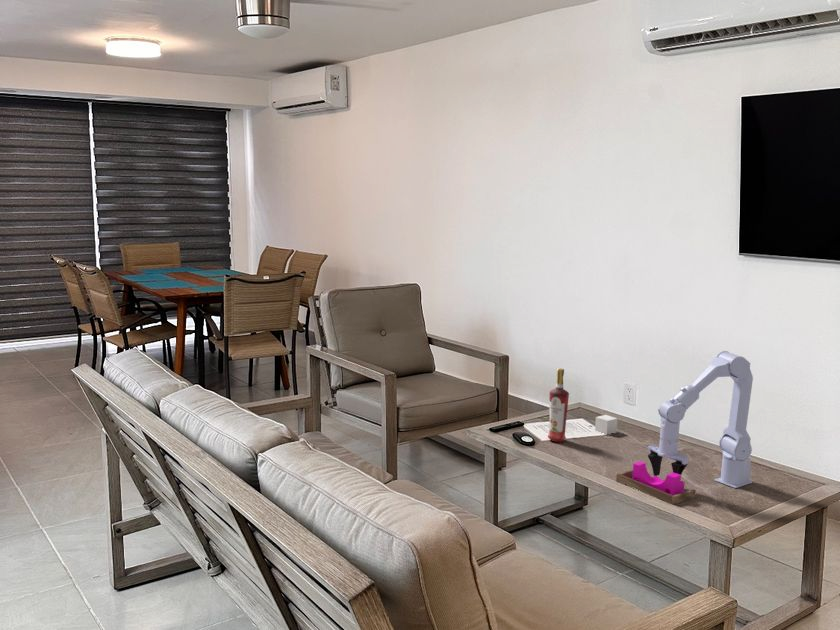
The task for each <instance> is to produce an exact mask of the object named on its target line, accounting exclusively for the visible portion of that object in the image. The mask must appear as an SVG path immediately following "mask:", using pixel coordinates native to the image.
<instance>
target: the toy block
mask: <svg viewBox="0 0 840 630" xmlns="http://www.w3.org/2000/svg"><path fill="white" fill-rule="evenodd" d="M632 466H633V467H632V470H633V477H632V478H631V479H633V480H636V481H638V482H641V483H643V484H645V485H648V486H650V487H653V488H655V489H658V490H660V491H663V492H665V493H668V494H670V495H673V496H674V495H677V494H680V493H683V492H685V484H686V483H685V481H683V480H682V474H681V475H680V474H677V473H674V472H673V471H672V472H671V473H668V474H666V477H665V479H661V478H660V477H658V475H657V476H654V475H653V476H651V475H650V473H649V471H648V470H647V469H648V468H647V466H646V462H643V461H638V462H635V463H633V465H632Z"/></svg>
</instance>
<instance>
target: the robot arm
mask: <svg viewBox="0 0 840 630" xmlns="http://www.w3.org/2000/svg"><path fill="white" fill-rule="evenodd" d="M724 377H725V378H727V377H730V379H732V381H733V385H732V388H733V389H732V395H731V396H732V397H731V401H730V402H731V403H730V409H729V410H730V411H729V419H728V425H727V427H726V428H724V429H723V432H722V435H721V437H720V439H719V442H718V443H719V445H718V446H719V448H720V450H721V453H722V460H721V472H720V477H718V478H715V479H714V481H715V482H718V483H721V484H724V485H726V486H728V487H731V488H734V489H737V488H741V487H743V486H747V485H749V484H752V483H753V481H752V480H751V474H752V473H751V471H752V462H751V459H750V458H749V457H750V456H751V454H752V451H753V449H752V444H751V436H750V435H749V433H748V431H747V426H748V419H749V413H750V412H749V410H750V403H751V394H752V388H753V381H754V380H753V379H754V375H753V373H752V370H751V361H749V360H747V359H746V358H745V357H743V356H739V355H737V354H734V353H731V352H729V351H727V350H722V351H719V353H717V354H716V356H714V357H713V358H712V359H711V361H710V364H709V365H708V366H707V367H706V369H705V370H704V371H703V372H702V373H701V374H700V375H699V376H698V377H697V378H696V379H695V380H694V382H692V384H689V385H688V384H687V385H684V386H681V387H680V388H679V391H678V392H677V393H676V394H675V395H674V396H673V397H670V399H669V400H667V401H664V402H662V404H661V405H660V407H659V408H658V409H657V411H658V415H659V416H660V432H659V446H656V445H653V444H651V445H648V446H647V452H648V453H649V454H647V458H648V459H649V461H650V464H651V467H652V472H653V473H652V474H653V476H657V477H658V476H660V474H661V465H662V461H663V458H667V459H670V460H673V461H674V462H671V469H672V473H673V472H674V473H677V474H680V475H681V476H682V474H683V472H684V470H685V469H686V468H687V466H688V464H689V463H690V462H689V461H690V460H689V459H690V458H689V457H687V456H685V455H683V454H681V453H680V452H678V451H679V448H678V447H679V438H680V437H679V436H680V425H681V421H683V419H684V417H685V414H686V412H687V410H688V409H689V408H691V406H693V404H694V403H696V402H697V400H699V399H700V393H701V392H702V391H703V390H704V389H705V388H707V387H708V386H710V385H711V384H712V383H713V382H714V381H715V380H717V379H718V378H724Z"/></svg>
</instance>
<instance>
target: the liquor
mask: <svg viewBox="0 0 840 630" xmlns="http://www.w3.org/2000/svg"><path fill="white" fill-rule="evenodd" d="M564 374H565V369H564V368H557V369H556V381H555V388H554V389H552V390H550V391H549V402H548V404H549V425H548V426H549V427H548V428H549V431H548V436H547V438H548V440H550V441H551V440H552V441H551V442H553V441H556V442H555V443H562V442H564V441H565V440H566V439H567V437H566V426H567V415H568V407H569V399H570V397H569V395H570V393H569V392H568V391H567V390H566V389H564Z"/></svg>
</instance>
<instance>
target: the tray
mask: <svg viewBox="0 0 840 630" xmlns="http://www.w3.org/2000/svg"><path fill="white" fill-rule="evenodd" d="M632 477H633V469H630V470H626V471H622V472H619V473H616V479H615V481H616V482H617V481H618V482H617V483H619V482H621V483H620V484H622V483H623V484H622V485H624V484H626V485H625V486H627V485H628V486H627V487H629V486H631V487H634V488H636V489H638V490H637V491H639V490H640V491H639V492H641V491H642V492H641V493H643V492H645V493H644V494H646V493H647V494H646V495H648V494H649V496H651V497H653V498H655V497H656V499H658V500H660V501H662V502H665V503H668V504H670V505H677V504H680V503H683V502H686V501H689V500H692V499H695V498H696V492H697V491H696V489H690V490H685V491H684V492H683V493H680V494H677V495H674V496H673V495H670V494H668V493H665V492H663V491H660V490H658V489H655V488H653V487H650V486H648V485H645V484H643V483H641V482H638V481H636V480H633V479H632ZM631 487H630V488H631ZM634 488H633V489H634ZM636 489H635V490H636Z"/></svg>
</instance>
